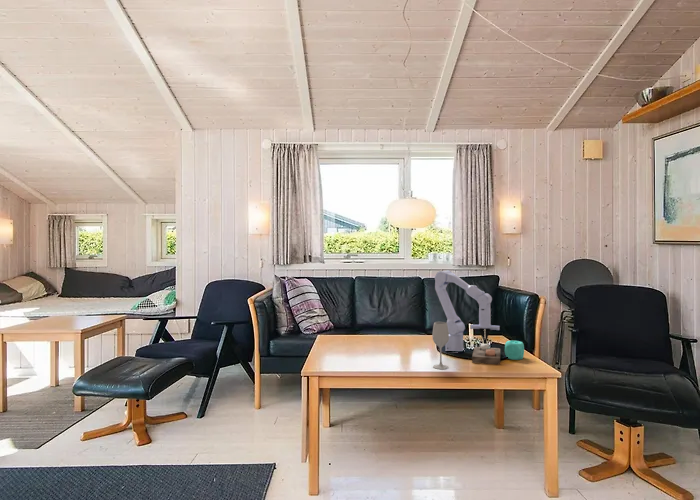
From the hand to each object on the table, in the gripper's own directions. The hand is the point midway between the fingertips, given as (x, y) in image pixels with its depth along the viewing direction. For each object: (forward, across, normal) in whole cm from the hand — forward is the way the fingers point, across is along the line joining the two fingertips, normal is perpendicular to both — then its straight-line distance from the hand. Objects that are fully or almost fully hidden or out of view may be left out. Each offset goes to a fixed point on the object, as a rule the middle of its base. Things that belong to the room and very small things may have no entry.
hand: (485, 343), depth 233 cm
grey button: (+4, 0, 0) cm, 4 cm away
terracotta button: (+4, +3, -11) cm, 12 cm away
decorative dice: (+6, +14, -1) cm, 16 cm away
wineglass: (+6, -19, -29) cm, 35 cm away
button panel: (+6, +1, -6) cm, 9 cm away
